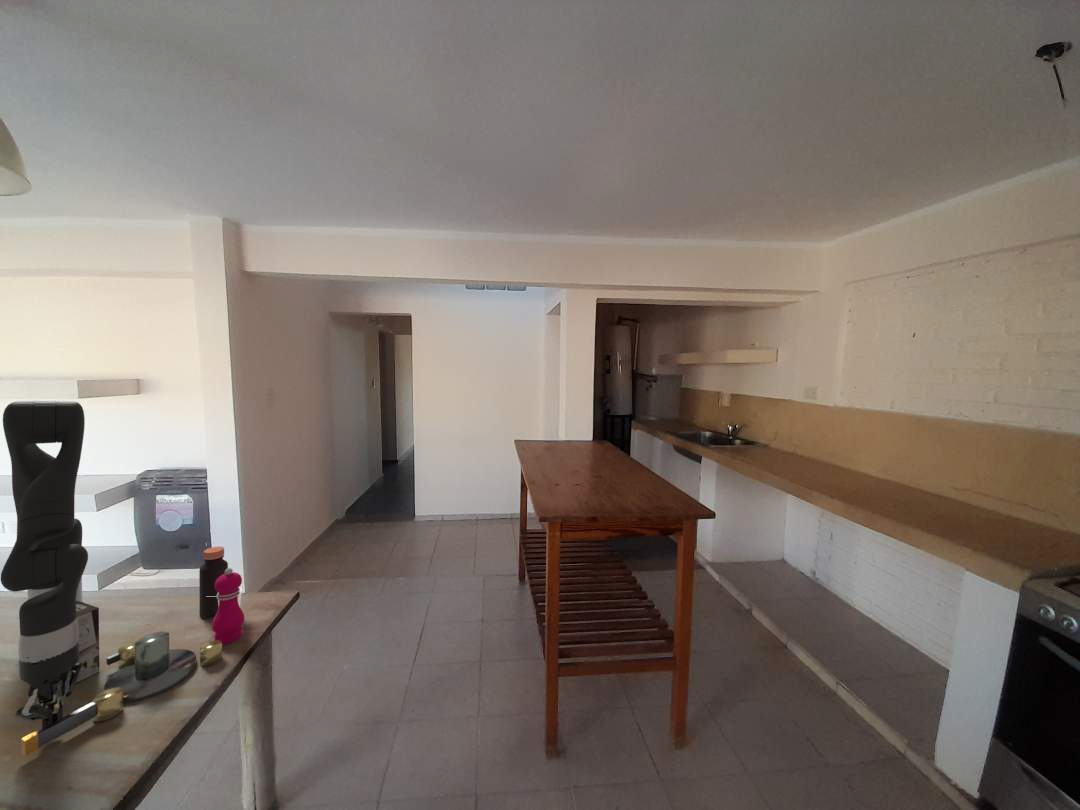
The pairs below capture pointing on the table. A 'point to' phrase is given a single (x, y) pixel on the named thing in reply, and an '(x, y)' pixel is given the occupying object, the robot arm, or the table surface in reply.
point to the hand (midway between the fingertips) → (53, 728)
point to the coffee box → (88, 639)
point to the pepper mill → (228, 608)
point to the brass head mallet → (76, 719)
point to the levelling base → (153, 684)
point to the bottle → (211, 580)
